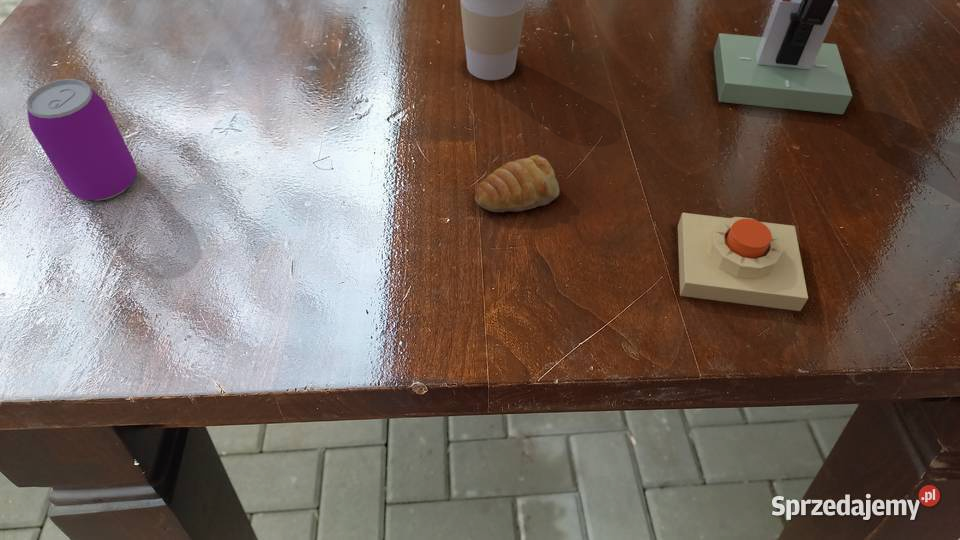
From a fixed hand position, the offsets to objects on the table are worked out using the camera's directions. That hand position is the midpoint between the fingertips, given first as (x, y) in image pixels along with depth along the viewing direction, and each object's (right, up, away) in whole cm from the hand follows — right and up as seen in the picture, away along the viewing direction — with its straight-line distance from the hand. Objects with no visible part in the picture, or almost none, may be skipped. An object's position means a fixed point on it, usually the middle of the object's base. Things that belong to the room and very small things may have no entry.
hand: (784, 56), depth 92 cm
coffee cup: (-39, 0, +5) cm, 39 cm away
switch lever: (0, -1, +1) cm, 1 cm away
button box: (-13, -28, -18) cm, 36 cm away
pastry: (-36, -20, -12) cm, 43 cm away
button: (-13, -26, -21) cm, 36 cm away
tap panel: (0, -3, +3) cm, 4 cm away
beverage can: (-84, -18, -11) cm, 87 cm away
